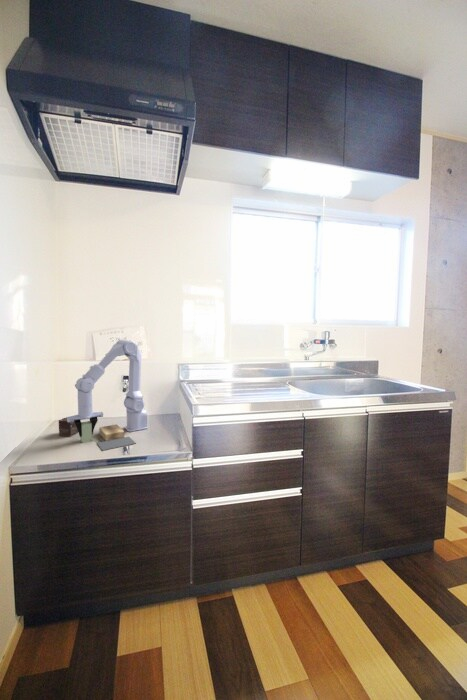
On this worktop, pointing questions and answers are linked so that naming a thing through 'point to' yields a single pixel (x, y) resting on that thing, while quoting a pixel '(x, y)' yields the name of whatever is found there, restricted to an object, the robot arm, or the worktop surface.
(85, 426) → the block
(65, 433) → the box
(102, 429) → the step
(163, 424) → the worktop surface
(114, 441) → the mat
